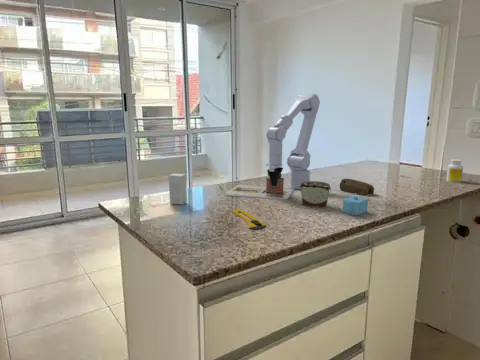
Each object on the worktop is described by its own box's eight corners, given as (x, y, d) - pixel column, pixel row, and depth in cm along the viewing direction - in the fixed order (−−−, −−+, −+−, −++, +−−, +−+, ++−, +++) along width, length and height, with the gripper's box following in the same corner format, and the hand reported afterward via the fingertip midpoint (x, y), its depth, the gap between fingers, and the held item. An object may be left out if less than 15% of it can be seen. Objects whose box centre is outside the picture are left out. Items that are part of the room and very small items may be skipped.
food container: (332, 206, 147) (334, 182, 145) (329, 211, 142) (331, 185, 140) (302, 203, 152) (303, 179, 150) (298, 207, 147) (299, 182, 145)
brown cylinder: (337, 193, 169) (337, 179, 167) (345, 190, 174) (346, 176, 172) (367, 199, 158) (368, 184, 157) (375, 196, 163) (376, 182, 162)
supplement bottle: (463, 186, 181) (467, 161, 178) (449, 186, 181) (453, 161, 178) (455, 183, 187) (459, 158, 185) (442, 183, 187) (445, 158, 185)
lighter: (283, 193, 167) (284, 172, 165) (283, 195, 164) (283, 173, 162) (266, 193, 169) (266, 171, 166) (265, 194, 165) (265, 173, 163)
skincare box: (187, 202, 154) (186, 174, 151) (182, 204, 150) (181, 176, 147) (174, 200, 156) (173, 173, 153) (169, 203, 152) (168, 175, 149)
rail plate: (294, 191, 172) (294, 188, 172) (287, 201, 156) (287, 198, 155) (238, 186, 181) (238, 184, 181) (225, 195, 164) (225, 193, 164)
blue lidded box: (353, 222, 129) (354, 201, 128) (337, 218, 133) (338, 198, 132) (368, 214, 138) (369, 195, 136) (353, 211, 142) (354, 192, 140)
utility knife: (252, 234, 119) (252, 228, 118) (225, 214, 139) (225, 209, 138) (270, 231, 121) (270, 225, 121) (242, 212, 141) (242, 207, 141)
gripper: (270, 151, 170) (270, 180, 173) (262, 156, 157) (262, 187, 160) (285, 152, 168) (284, 181, 171) (278, 157, 155) (278, 188, 158)
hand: (274, 184), depth 165 cm, fingers closed on lighter, 4 cm apart
